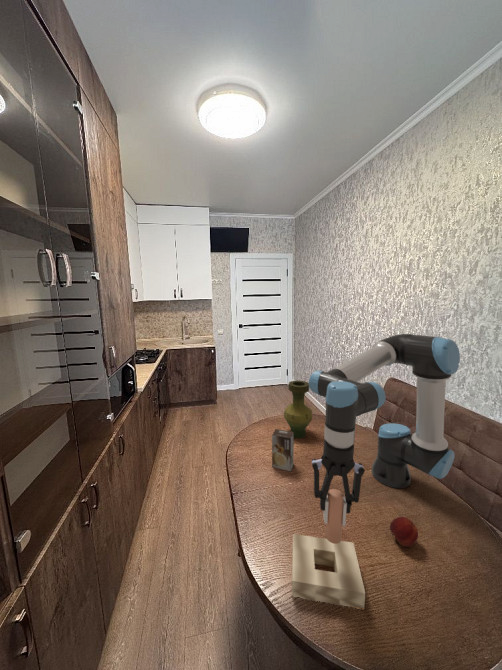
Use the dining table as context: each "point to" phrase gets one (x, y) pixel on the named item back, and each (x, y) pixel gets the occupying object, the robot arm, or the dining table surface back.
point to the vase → (298, 409)
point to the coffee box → (282, 449)
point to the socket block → (326, 572)
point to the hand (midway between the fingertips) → (334, 520)
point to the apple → (404, 531)
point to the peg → (334, 516)
